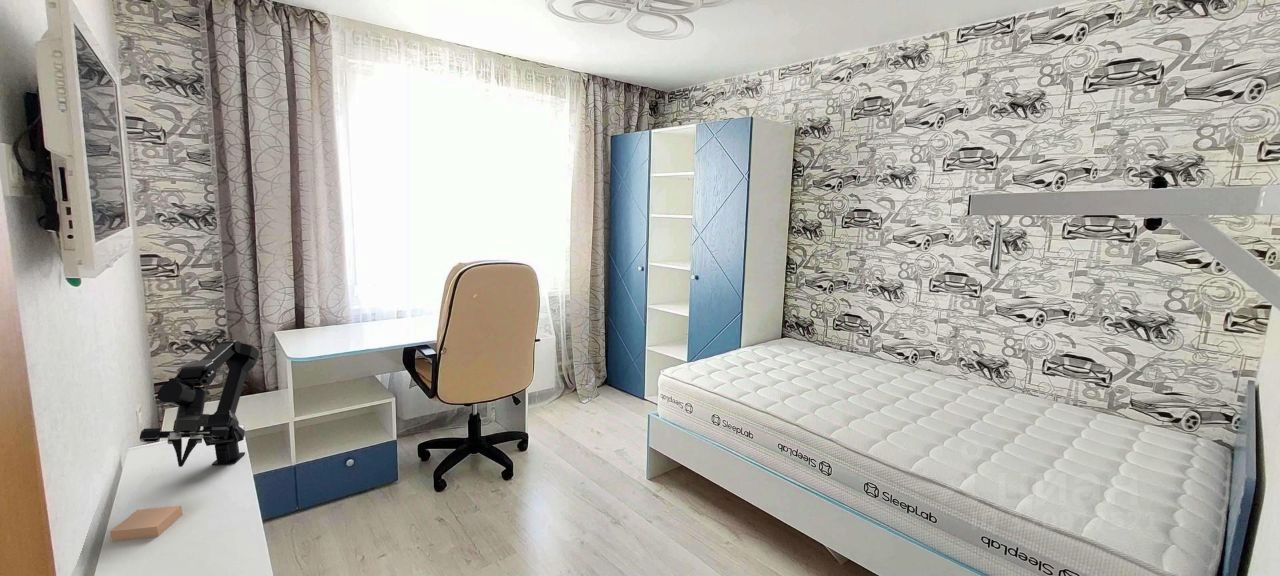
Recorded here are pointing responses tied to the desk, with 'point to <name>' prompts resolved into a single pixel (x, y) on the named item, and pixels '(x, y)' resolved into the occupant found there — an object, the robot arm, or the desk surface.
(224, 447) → the robot arm
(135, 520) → the tile
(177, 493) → the desk surface
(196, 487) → the desk surface
